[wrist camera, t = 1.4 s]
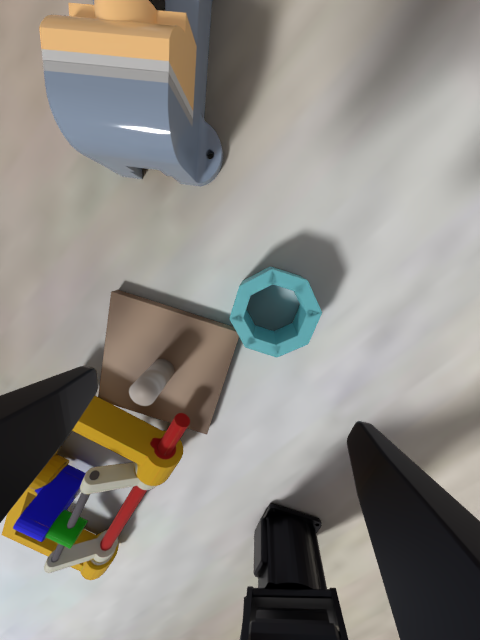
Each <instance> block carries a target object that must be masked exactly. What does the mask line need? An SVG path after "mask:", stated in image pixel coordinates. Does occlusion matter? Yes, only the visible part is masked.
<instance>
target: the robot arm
mask: <svg viewBox="0 0 480 640" xmlns="http://www.w3.org/2000/svg"><path fill="white" fill-rule="evenodd" d="M97 389H98V385H97V373H96V370H95V369H94V368H91V367H86V366H81V367H78V368H75V369H72V370H69V371H67V372H64V373H61V374H59V375H56V376H53V377H50V378H48V379H45V380H42V381H39V382H37V383H34V384H31V385H28V386H26V387H23V388H20V389H17V390H15V391H12V392H9V393H6V394H4V395H1V396H0V522H1V521H2V520H3V519H4V517H5V516H6V515H7V514H8V512H9V511H10V510H11V509H12V507H13V506H14V505H15V503H16V502H17V501H18V500H19V498H20V497H21V496H22V495H23V493H24V492H25V491H26V490H27V488H28V487H29V486H30V484H31V483H32V482H33V481H34V479H35V478H36V477H37V476H38V474H39V473H40V472H41V470H42V469H43V468H44V467H45V465H46V464H47V463H48V462H49V460H50V459H51V458H52V457H53V455H54V454H55V453H56V451H57V450H58V449H59V448H60V446H61V445H62V444H63V442H64V441H65V440H66V438H67V437H68V436H69V434H70V433H71V431H72V430H73V428H74V427H75V425H76V424H77V422H78V421H79V419H80V418H81V416H82V414H83V413H84V411H85V410H86V408H87V407H88V405H89V404H90V402H91V401H92V399H93V397H94V396H95V394H96V392H97ZM347 446H348V451H349V456H350V461H351V466H352V471H353V476H354V481H355V486H356V490H357V495H358V498H359V502H360V505H361V509H362V512H363V515H364V519H365V522H366V526H367V529H368V532H369V536H370V539H371V542H372V546H373V549H374V553H375V556H376V559H377V563H378V566H379V569H380V573H381V576H382V580H383V583H384V586H385V590H386V593H387V596H388V600H389V603H390V606H391V610H392V613H393V617H394V620H395V623H396V627H397V630H398V633H399V637H400V640H480V521H479V520H478V519H477V518H476V517H474V516H473V515H472V514H471V513H470V512H469V511H468V510H467V509H466V508H464V507H463V506H462V505H461V504H460V503H459V502H458V501H457V500H455V499H454V498H453V497H452V496H451V495H450V494H449V493H448V492H447V491H445V490H444V489H443V488H442V487H441V486H440V485H439V484H438V483H436V482H435V481H434V480H433V479H432V478H431V477H430V476H429V475H428V474H426V473H425V472H424V471H423V470H422V469H421V468H420V467H419V466H417V465H416V464H415V463H414V462H413V461H412V460H411V459H410V458H409V457H407V456H406V455H405V454H404V453H403V452H402V451H401V450H400V449H398V448H397V447H396V446H395V445H394V444H393V443H392V442H391V441H390V440H388V439H387V438H386V437H385V436H384V435H383V434H382V433H381V432H379V431H378V430H377V429H376V428H375V427H374V426H373V425H372V424H370V423H366V422H361V421H358V422H356V423H355V425H354V427H353V428H352V430H351V432H350V434H349V436H348V438H347ZM320 527H321V520H320V519H319V518H316V517H312V516H309V515H306V514H303V513H300V512H297V511H294V510H290V509H287V508H284V507H281V506H278V505H275V504H270V505H269V506H268V508H267V510H266V512H265V514H264V516H263V517H262V518H261V519H260V521H259V523H258V525H257V527H256V529H255V534H254V575H255V577H258V588H253V587H249V586H248V587H247V596H246V597H244V611H243V623H242V630H241V636H240V640H348V636H347V632H346V628H345V624H344V620H343V616H342V612H341V608H340V604H339V600H338V596H337V591H336V588H330V589H327V586H326V581H325V576H324V571H323V566H322V561H321V556H320V550H319V545H318V540H317V535H316V533H317V532H318V530H319V529H320Z"/></svg>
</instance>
